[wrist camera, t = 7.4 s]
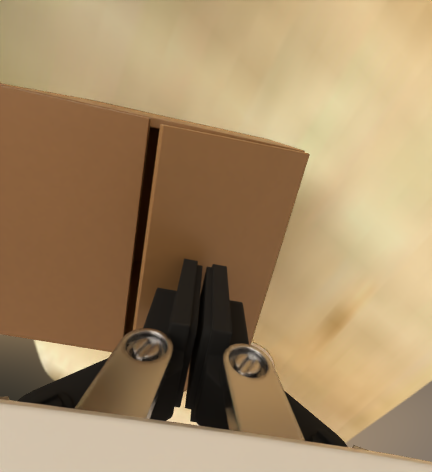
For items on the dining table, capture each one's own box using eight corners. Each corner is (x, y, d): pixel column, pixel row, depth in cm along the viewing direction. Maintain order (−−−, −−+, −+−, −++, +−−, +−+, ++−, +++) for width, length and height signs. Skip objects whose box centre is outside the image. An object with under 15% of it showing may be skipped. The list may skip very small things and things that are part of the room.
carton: (268, 139, 21) (310, 152, 12) (231, 281, 26) (241, 374, 16) (88, 99, 20) (-21, 79, 11) (80, 253, 25) (-4, 334, 15)
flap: (304, 152, 12) (310, 153, 12) (238, 369, 16) (241, 373, 16) (159, 123, 9) (163, 125, 9) (122, 404, 13) (124, 410, 13)
